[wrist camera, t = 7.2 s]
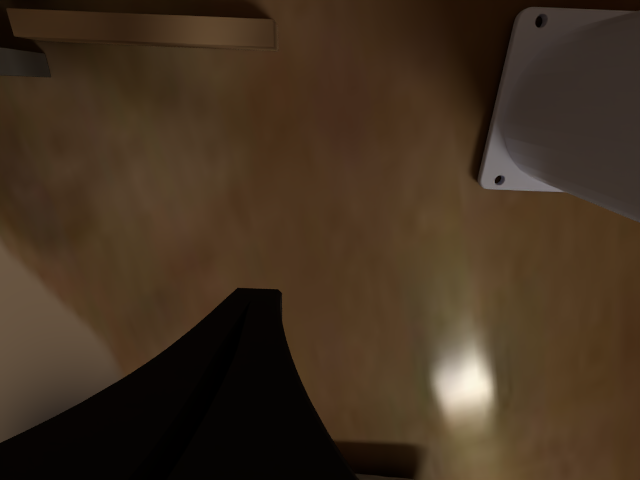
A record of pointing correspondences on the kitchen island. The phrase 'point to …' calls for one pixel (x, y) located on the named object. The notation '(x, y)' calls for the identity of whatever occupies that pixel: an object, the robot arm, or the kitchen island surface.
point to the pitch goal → (129, 33)
